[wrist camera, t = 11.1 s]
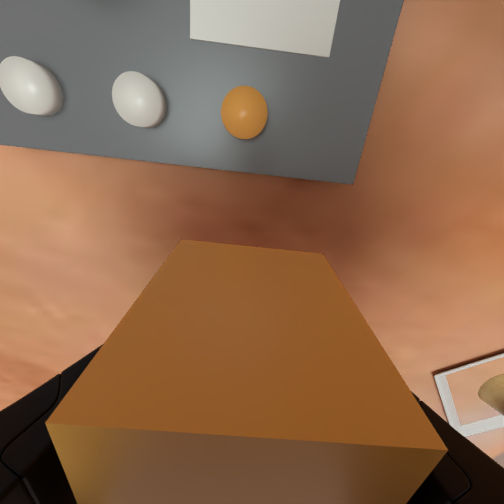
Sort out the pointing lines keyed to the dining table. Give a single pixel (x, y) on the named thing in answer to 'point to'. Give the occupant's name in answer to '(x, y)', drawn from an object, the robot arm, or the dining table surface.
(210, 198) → the dining table surface
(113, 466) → the mustard yellow cube
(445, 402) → the dessert
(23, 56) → the breaker panel
